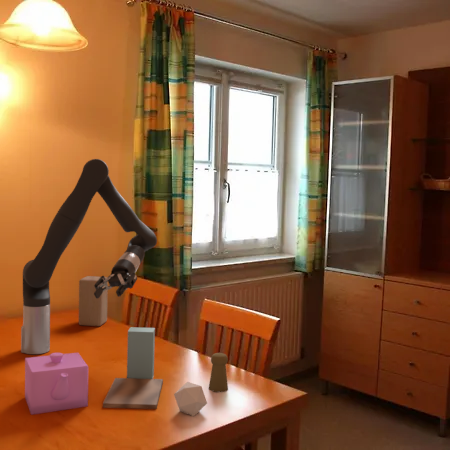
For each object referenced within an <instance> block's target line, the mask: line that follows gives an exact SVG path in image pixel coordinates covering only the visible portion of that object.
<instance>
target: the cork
mask: <svg viewBox="0 0 450 450" xmlns="http://www.w3.org/2000/svg"><path fill="white" fill-rule="evenodd" d="M228 358H229V357H228V356H227V354H226V353H223V352H216V353H213V354H212V355H211V357H210V362H211V364H212V366H211V373H210V378H209V385H208V390H209V391H211V392H214V393H225V392H227V391H228V390H229V386H228V385H229V384H228V376H227V373H228V372H227V366H226V365H227V364H228V360H229V359H228Z"/></svg>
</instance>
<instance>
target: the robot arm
mask: <svg viewBox="0 0 450 450" xmlns="http://www.w3.org/2000/svg"><path fill="white" fill-rule="evenodd" d="M109 173H110V172H109V166H108V165H107V163H106V162H105V161H103V160H102V159H99V158H92V159H89V160H88V161H87V162H86V163H85V164H84V165H83V167H82V170H81V174H80V177H79V178H78V180H77V182H76V184H75V187H74V188H73V189H72V191H71V193H70V194H69V195H68V196H67V197H66V199H65V200H64V202H63V203H62V204H61V206H60V207H59V209H58V210H57V212H56V214H55V216H54V217H53V219H52V221H51V223H50V226H49V227H48V230H47V233H46V236H45V239H44V241H43V244H42V245H41V248H40V249H39V251H38V253H37V254H36V256H35V257H34V258H33V259H31V260H29V261H28V262H26V264H25V265H24V266H23V269H22V302H23V304H22V308H23V309H22V313H23V316H22V318H23V319H22V321H23V322H22V326H20V327H21V329H20V337H21V338H20V344H21V345H20V353H23V354H27V355H41V354H46V353H48V352H49V351H50V350H51V349H50V347H51V341H50V340H51V295H50V280H51V278H52V276H53V274H54V271H55V269H56V267H57V264H58V263H59V262H60V261H59V260H60V259H61V257H62V255H63V253H64V252H65V250H66V249H67V247H68V246H69V244H70V243H71V241H72V239H73V238H74V237H75V234H76V233H77V232H78V230H79V228H80V227H81V224H82V222H83V220H84V218H85V217H86V214H87V213H88V210H89V207H90V205H91V202H92V200H93V199H94V197H95V195H96V194H97V193H98V195H99V196H100V197H101V198H102V200H103V201H104V203H105V204H106V205H107V207H108V208H109V210H110V212H111V213H112V215H113V217H114V218H115V220H116V221H117V222H118V224H119V225H120V227H121V228H122V229H123V231H124V232H125V233H132V232H133V233H136V235H134V236H133V237H132V238H131V239H130V240H129V242H128V245H127V247H126V250H125V251H124V252H123V254H122V255H121V256H120V257H119V258H118V260H117V261H116V263H114V265H113V266H112V269H111V271H110V272H111V273H110V275H108V276H104V275H102V276H99V277H100V279H99V280H98V281H97V282H96V284H95V285H94V287H95V289H96V291H95V292H94V295H95V297H96V299H97V298H99V297H100V296H101V294H102V293H103V291H105V290H108V291H109V290H111V289H112V288H115V287H118V288H117V289H116V291H115V293H116V295H117V297H121V296H122V295H123V294H124V293H125V291H127V290H128V289H132V288H133V287H134V286H135V284H136V282H137V280H138V277H137V274H136V272H137V270H138V269H139V267H140V265H141V263H142V262H143V260H144V258H145V256H146V255H145V253H146V252H147V251H149V250H151V249H152V248H155V246H157V242H158V239H157V236H156V234H155V232H154V230H152V229H150V227H148V226H147V225H146V224H145V223H144V222H143V221H142V220H140V218H139V217H138V215H137V214H136V212H135V211H134V209H133V208H132V207H131V206H130V204H129V203H128V202H127V201H126V199H125V198H124V197H123V196H122V195H121V193H120V192H119V191H118V189H117V188H116V186H115V185H114V184H113V182H112V180H111V177H110V176H109ZM105 277H107V278H105ZM107 282H108V285H107ZM104 285H105V287H104V288H102V287H103V286H104Z"/></svg>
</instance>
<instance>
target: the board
mask: <svg viewBox="0 0 450 450" xmlns="http://www.w3.org/2000/svg"><path fill="white" fill-rule="evenodd" d="M163 384H164V379H163V378H153V379H136V378H127V377H115V378H114V379H113V382H112V384H111V386H110V388H109V390H108V392H107V394H106V396H105V398H104V400H103V401H102V402H103V403H102V408H104V409H105V408H109V409H110V408H111V409H118V408H119V409H146V410H151V409H153V410H156V409H158V408H157V407H158V404H159V400H160V396H161V393H162V387H163Z"/></svg>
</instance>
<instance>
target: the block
mask: <svg viewBox="0 0 450 450" xmlns="http://www.w3.org/2000/svg"><path fill="white" fill-rule="evenodd" d="M100 277H101V276H95V275H93V276H92V275H87V276H85V277H82V278H81V279H79V281H78V325H80V326H84V327H85V326H90V327H101V326H102V325H104V324H105V323H106V322H107V320H108V293H109V292H108V291H109V290H105V291H103V293H102V294H101V296H100V297H99V298H97V299H96V297H95V295H94V292H95V291H96V289H95V287H94V285H95V284H96V282H97V281H98V280H99V279H100ZM104 277H105V278H107V277H108V276H104ZM107 285H108V286H109V282H107ZM104 287H105V285H104V286H103V287H102V288H104Z"/></svg>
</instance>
